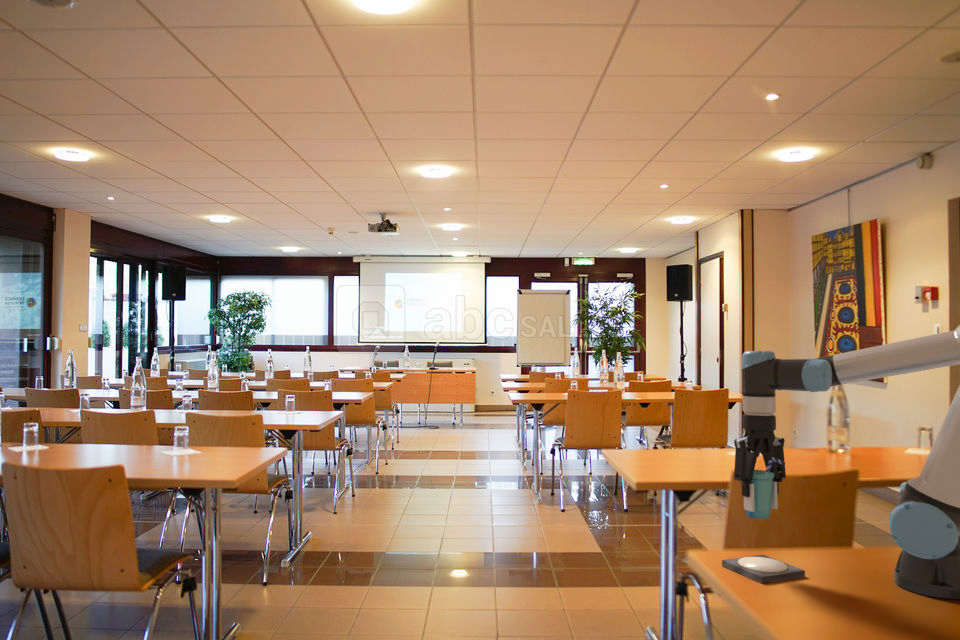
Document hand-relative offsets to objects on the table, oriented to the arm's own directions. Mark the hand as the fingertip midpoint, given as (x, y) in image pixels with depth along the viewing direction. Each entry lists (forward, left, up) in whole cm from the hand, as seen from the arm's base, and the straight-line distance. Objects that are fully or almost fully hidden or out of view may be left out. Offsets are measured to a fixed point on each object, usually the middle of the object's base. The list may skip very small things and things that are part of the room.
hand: (760, 509), depth 158 cm
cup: (0, 0, -2) cm, 2 cm away
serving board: (0, 0, -15) cm, 15 cm away
